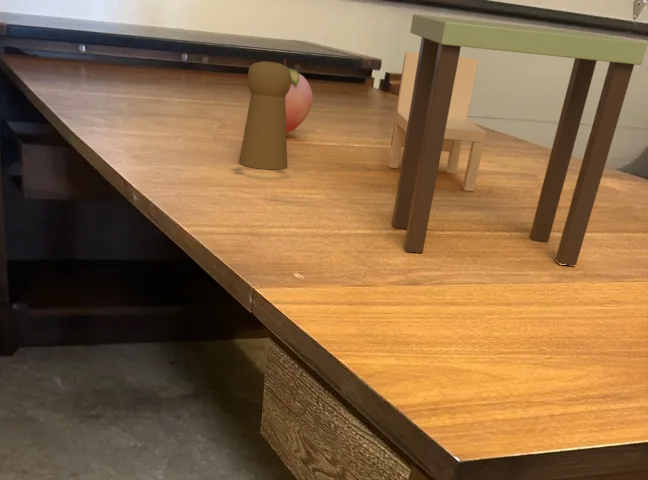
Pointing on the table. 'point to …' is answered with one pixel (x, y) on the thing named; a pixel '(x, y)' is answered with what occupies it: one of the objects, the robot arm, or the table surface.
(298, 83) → the decorative fruit
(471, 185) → the chair
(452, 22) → the side table
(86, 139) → the table surface
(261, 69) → the cork
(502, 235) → the table surface
